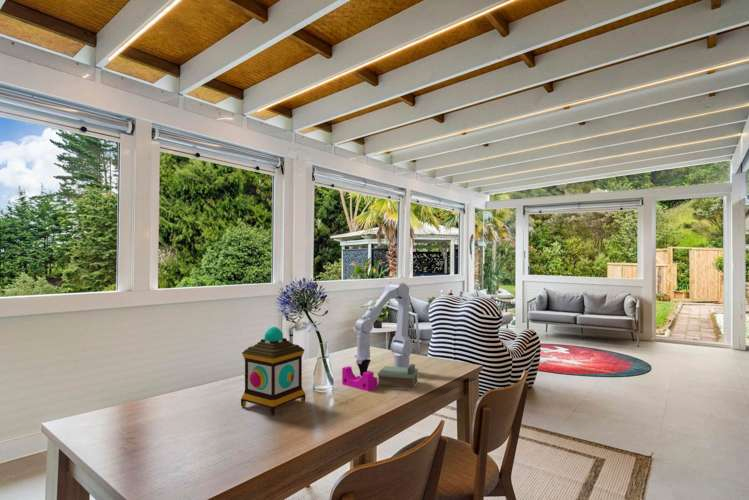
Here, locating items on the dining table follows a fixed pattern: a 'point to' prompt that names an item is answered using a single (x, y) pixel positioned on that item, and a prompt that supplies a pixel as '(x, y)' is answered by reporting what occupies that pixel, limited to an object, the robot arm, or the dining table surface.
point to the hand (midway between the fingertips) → (363, 376)
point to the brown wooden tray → (397, 382)
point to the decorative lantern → (273, 371)
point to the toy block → (359, 379)
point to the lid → (399, 371)
